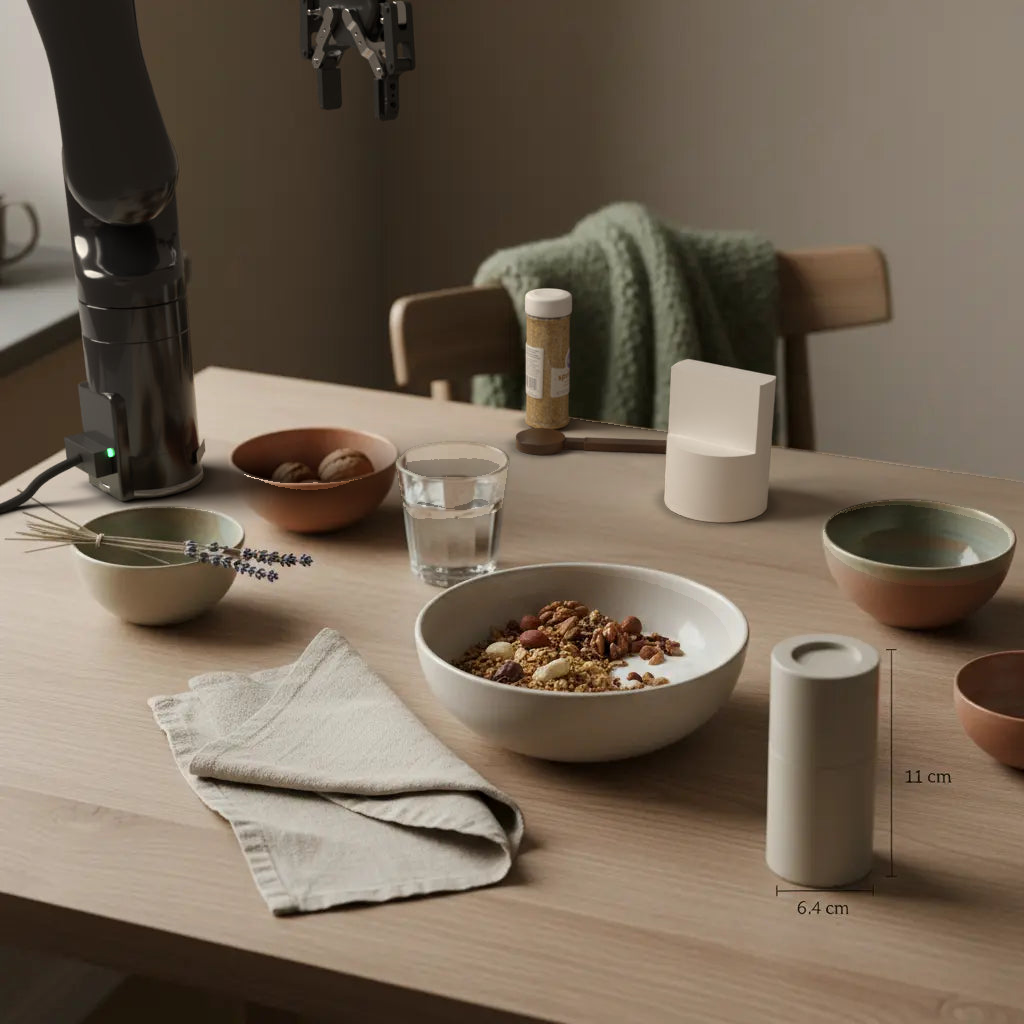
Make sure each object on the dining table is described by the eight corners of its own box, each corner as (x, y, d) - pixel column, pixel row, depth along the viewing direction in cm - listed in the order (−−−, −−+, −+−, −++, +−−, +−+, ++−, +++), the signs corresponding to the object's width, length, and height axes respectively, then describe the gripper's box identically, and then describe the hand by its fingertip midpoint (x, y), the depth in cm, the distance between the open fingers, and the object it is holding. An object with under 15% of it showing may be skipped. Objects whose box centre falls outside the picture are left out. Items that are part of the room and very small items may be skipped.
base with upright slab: (645, 506, 132) (650, 375, 127) (695, 475, 139) (701, 350, 134) (737, 530, 127) (746, 395, 122) (784, 497, 134) (794, 368, 129)
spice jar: (573, 430, 150) (575, 298, 144) (527, 432, 149) (528, 299, 144) (565, 415, 154) (567, 285, 149) (521, 416, 153) (521, 287, 148)
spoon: (698, 442, 147) (698, 433, 146) (699, 460, 142) (700, 450, 142) (517, 436, 148) (517, 427, 148) (513, 454, 144) (513, 444, 143)
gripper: (270, -73, 137) (281, 109, 143) (367, -69, 127) (373, 127, 134) (337, -75, 142) (344, 102, 148) (435, -71, 132) (438, 119, 139)
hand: (358, 114), depth 141 cm, fingers open, 8 cm apart
